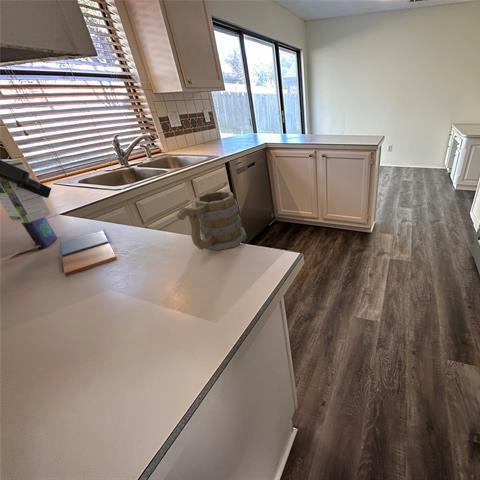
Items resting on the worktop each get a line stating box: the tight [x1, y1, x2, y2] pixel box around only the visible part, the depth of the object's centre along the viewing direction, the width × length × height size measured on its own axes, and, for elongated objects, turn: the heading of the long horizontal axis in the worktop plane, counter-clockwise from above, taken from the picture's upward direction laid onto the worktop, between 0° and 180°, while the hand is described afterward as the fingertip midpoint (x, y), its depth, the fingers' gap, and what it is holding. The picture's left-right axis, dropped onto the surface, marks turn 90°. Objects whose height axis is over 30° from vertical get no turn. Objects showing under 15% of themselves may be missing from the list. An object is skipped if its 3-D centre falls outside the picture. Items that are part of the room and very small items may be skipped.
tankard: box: [176, 190, 248, 252], centre depth 75 cm, size 20×13×15 cm, turn 159°
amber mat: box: [61, 243, 118, 277], centre depth 73 cm, size 11×11×1 cm
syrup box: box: [0, 158, 53, 223], centre depth 65 cm, size 6×6×14 cm
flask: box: [21, 217, 58, 250], centre depth 82 cm, size 9×3×11 cm, turn 24°
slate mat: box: [59, 230, 110, 257], centre depth 82 cm, size 11×11×1 cm
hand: (35, 193), depth 69 cm, fingers closed on syrup box, 6 cm apart
